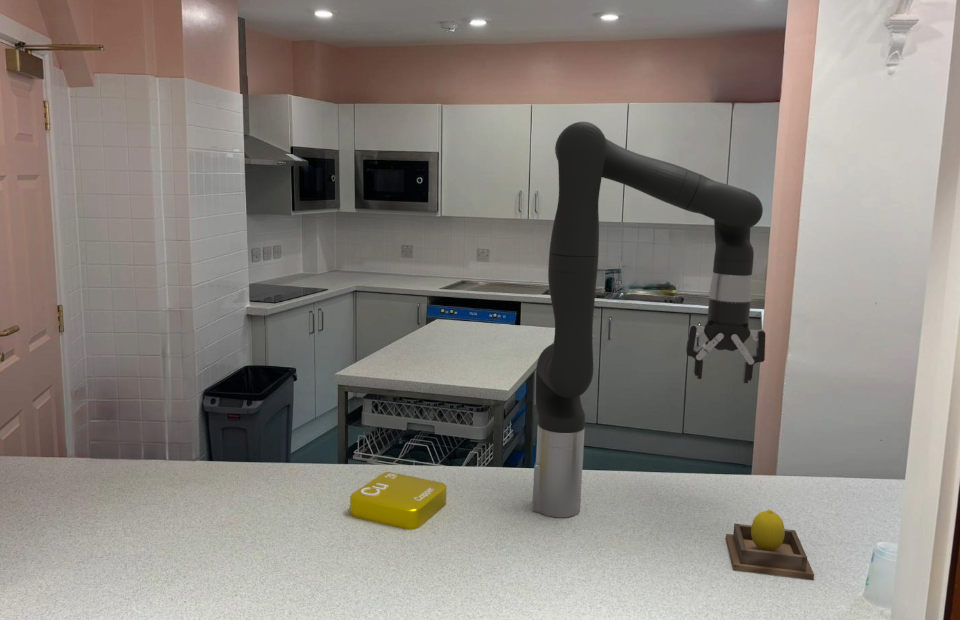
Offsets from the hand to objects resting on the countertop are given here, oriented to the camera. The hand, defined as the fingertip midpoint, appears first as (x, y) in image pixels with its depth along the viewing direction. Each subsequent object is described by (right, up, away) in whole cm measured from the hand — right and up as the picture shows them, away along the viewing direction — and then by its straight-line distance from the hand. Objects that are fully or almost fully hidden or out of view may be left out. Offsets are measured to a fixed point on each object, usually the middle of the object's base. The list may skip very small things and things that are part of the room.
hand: (722, 380), depth 149 cm
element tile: (-63, -26, +4) cm, 68 cm away
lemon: (+4, -30, -12) cm, 32 cm away
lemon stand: (+4, -30, -12) cm, 33 cm away
